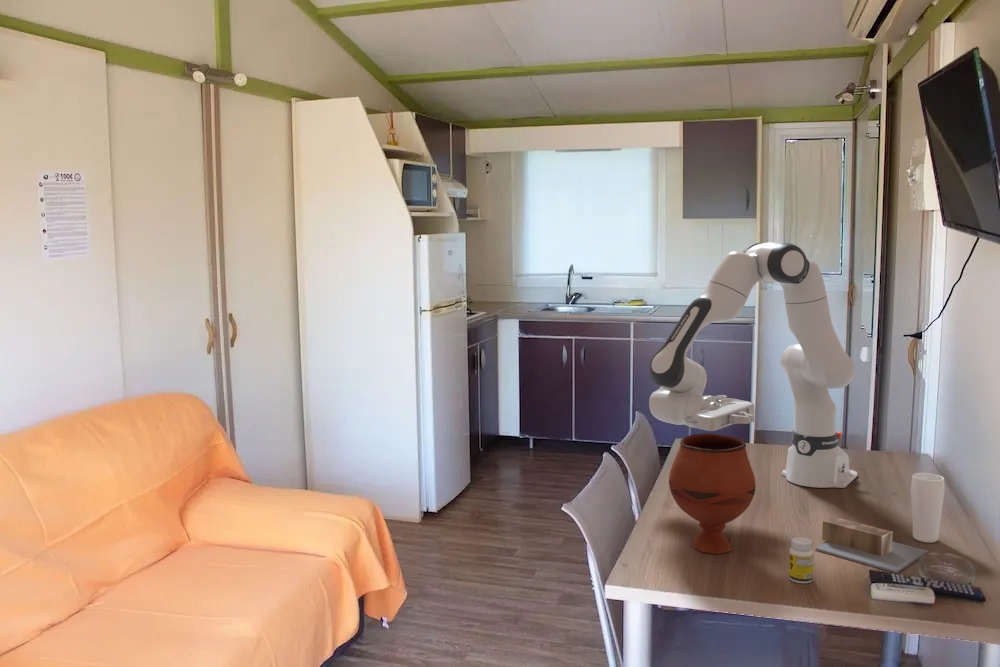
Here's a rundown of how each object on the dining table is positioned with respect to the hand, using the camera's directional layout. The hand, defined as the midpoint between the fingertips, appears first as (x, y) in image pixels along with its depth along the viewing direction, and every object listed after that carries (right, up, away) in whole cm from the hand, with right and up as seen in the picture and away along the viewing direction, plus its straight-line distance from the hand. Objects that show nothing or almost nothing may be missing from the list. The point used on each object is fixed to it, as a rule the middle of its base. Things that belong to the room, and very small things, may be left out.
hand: (751, 419), depth 210 cm
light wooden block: (+13, -24, -14) cm, 31 cm away
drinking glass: (+36, -26, -15) cm, 47 cm away
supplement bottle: (0, -30, -35) cm, 46 cm away
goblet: (-14, -28, -17) cm, 36 cm away
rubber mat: (+20, -27, -21) cm, 40 cm away
